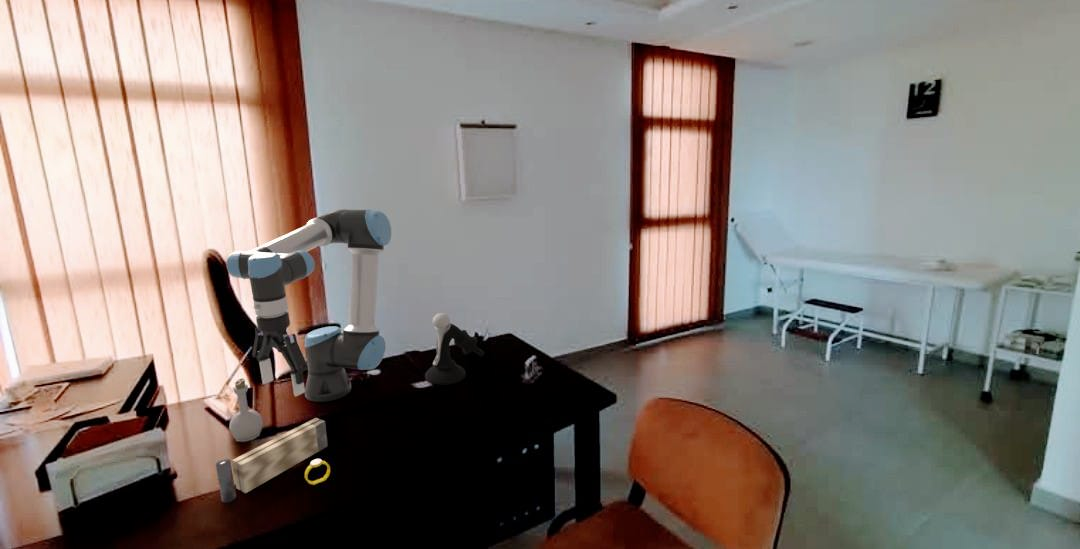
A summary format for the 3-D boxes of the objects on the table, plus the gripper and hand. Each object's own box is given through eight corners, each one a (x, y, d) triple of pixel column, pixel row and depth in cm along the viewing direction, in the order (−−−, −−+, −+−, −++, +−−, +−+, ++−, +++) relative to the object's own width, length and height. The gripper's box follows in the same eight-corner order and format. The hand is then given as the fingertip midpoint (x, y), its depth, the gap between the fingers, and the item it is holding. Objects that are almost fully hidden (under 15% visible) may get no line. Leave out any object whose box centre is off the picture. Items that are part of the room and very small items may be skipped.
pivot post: (226, 504, 124) (220, 467, 121) (219, 500, 125) (213, 464, 123) (238, 497, 126) (232, 461, 124) (231, 493, 128) (225, 457, 125)
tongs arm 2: (245, 493, 127) (241, 465, 125) (241, 491, 128) (237, 462, 126) (327, 446, 147) (325, 421, 145) (323, 444, 148) (320, 419, 146)
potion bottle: (270, 430, 156) (263, 376, 152) (245, 446, 148) (237, 389, 143) (249, 425, 159) (241, 372, 154) (223, 440, 150) (214, 384, 146)
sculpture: (419, 372, 197) (416, 310, 191) (476, 360, 208) (475, 301, 202) (432, 388, 184) (429, 322, 178) (492, 374, 195) (491, 312, 189)
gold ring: (308, 489, 129) (304, 469, 128) (305, 484, 131) (301, 464, 130) (332, 478, 133) (328, 459, 131) (329, 473, 135) (325, 454, 133)
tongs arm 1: (240, 490, 128) (235, 462, 126) (236, 488, 129) (231, 460, 127) (322, 444, 148) (319, 419, 146) (318, 442, 149) (315, 417, 147)
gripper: (229, 309, 135) (242, 382, 140) (289, 326, 123) (300, 405, 128) (257, 301, 141) (268, 371, 147) (316, 317, 129) (326, 393, 134)
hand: (283, 387), depth 137 cm, fingers open, 13 cm apart
